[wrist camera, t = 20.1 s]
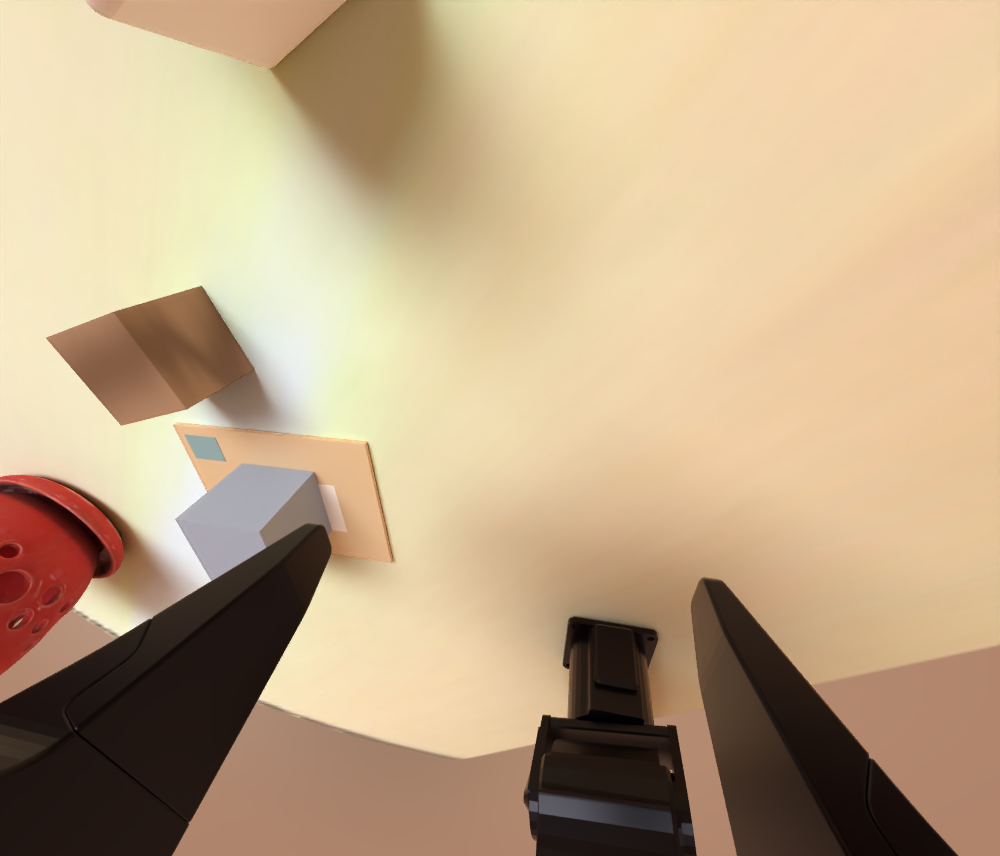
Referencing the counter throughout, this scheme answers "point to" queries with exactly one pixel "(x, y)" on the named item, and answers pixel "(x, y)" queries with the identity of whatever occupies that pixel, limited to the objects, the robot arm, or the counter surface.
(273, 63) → the medicine bottle
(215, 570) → the slate cube
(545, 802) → the robot arm
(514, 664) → the counter surface
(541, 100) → the counter surface
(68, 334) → the walnut block
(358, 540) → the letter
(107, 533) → the plant pot
